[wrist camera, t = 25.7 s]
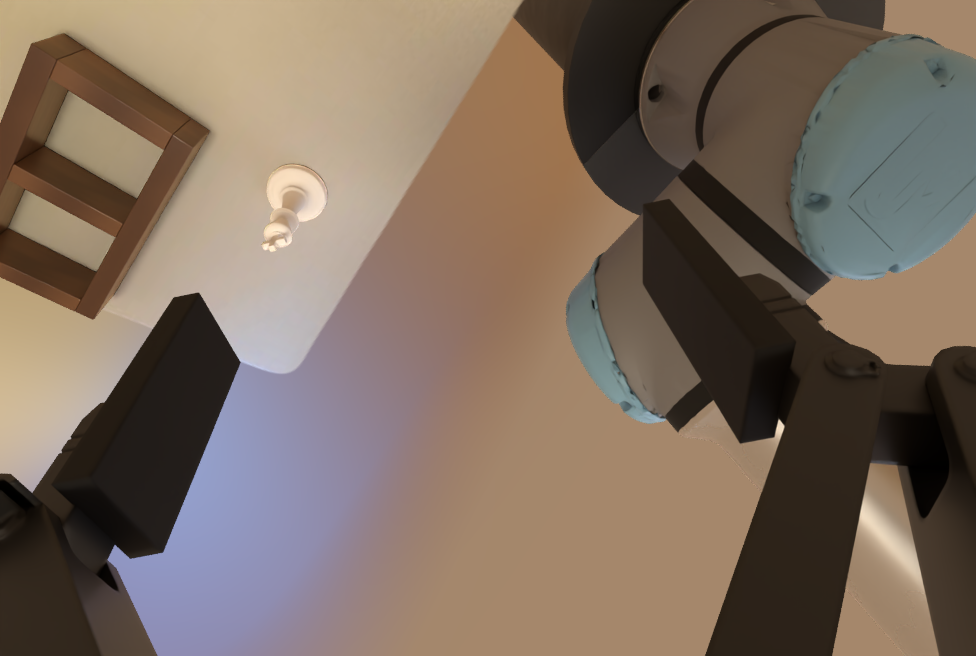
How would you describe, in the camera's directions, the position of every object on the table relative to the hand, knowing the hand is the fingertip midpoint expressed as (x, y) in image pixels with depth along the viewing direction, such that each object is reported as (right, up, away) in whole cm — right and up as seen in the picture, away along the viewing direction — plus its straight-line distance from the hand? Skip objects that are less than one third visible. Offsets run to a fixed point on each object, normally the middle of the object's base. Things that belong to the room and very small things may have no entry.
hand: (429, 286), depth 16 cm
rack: (-30, +11, +28) cm, 43 cm away
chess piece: (-14, +10, +30) cm, 35 cm away
